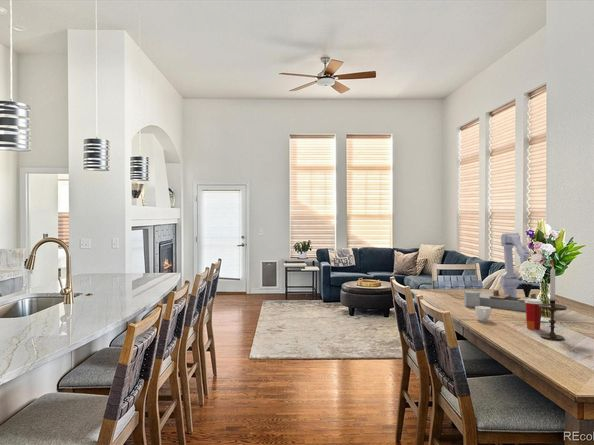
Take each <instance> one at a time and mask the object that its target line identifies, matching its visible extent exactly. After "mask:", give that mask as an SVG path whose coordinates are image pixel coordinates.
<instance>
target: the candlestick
mask: <svg viewBox="0 0 594 445" xmlns="http://www.w3.org/2000/svg"><path fill="white" fill-rule="evenodd" d="M550 262H551V269H550V284H549V286H550V288H549V290H550V292H549V298H548V299H547V300H548V301H549V303H543V304H539V308H542V310H548V312H550V319H548V323H550V325H549V326H548V327H549V328H550V331H549V333H541V334H540V338H541V339H544V340H549V341H555V342H557V341H559V342H563V341H564V340H565V337H564V336H563V335H560V334H556V332H555V329H556V326H555V324H556V323H557V321H556V320H555V313H556V312H558V311H562V312H563V311H566V310H567V305H566V306H565V305H564V304H557V303H556V301H558V299H556V269H555V268H554V265H555V263H554V261H553V260H551V261H550Z"/></svg>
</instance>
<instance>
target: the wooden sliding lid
mask: <svg viewBox="0 0 594 445" xmlns="http://www.w3.org/2000/svg"><path fill="white" fill-rule="evenodd" d="M492 293H493V294H492V296H489V298H495V299H505V298H508V297H510V296H511V295H507V294H503V293H499V289H496V290H493V292H492Z"/></svg>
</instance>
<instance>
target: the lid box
mask: <svg viewBox="0 0 594 445" xmlns="http://www.w3.org/2000/svg"><path fill="white" fill-rule="evenodd" d="M492 295H493V294H490V293H483V294H480V306H486V307H490V308H494V309H495V308H497V309H505V310H512V311H519V312H526V303H525V302H521V301H518V299H521V298H522V297H518V296H517V297H508V298H505V299H495V298H489V296H492Z"/></svg>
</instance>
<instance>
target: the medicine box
mask: <svg viewBox="0 0 594 445" xmlns="http://www.w3.org/2000/svg"><path fill="white" fill-rule="evenodd" d="M463 295H464V301H463V302H464V306H465V307H466V308H475V307H476V306H480V295H481V293H480V292H478V291H464V294H463Z"/></svg>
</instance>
